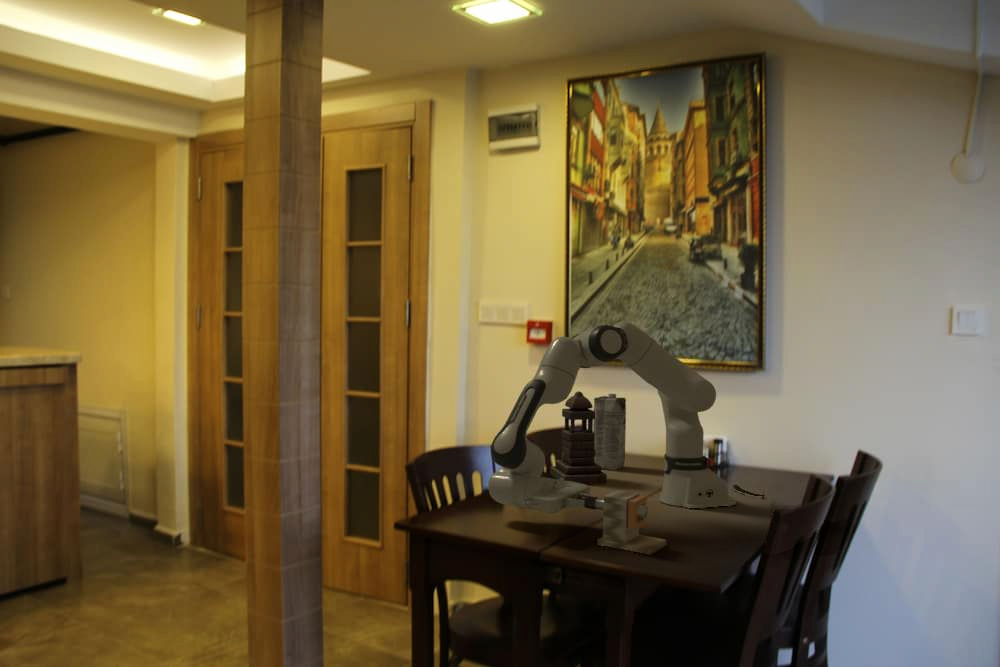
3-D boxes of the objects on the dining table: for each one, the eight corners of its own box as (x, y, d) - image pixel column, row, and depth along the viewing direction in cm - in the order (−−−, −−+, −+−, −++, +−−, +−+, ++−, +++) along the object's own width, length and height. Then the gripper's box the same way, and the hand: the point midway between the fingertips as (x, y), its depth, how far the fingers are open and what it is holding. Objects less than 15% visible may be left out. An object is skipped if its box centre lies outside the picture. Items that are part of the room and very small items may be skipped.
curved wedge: (743, 500, 253) (743, 494, 252) (731, 489, 266) (731, 485, 266) (770, 500, 252) (770, 495, 252) (757, 490, 266) (757, 485, 266)
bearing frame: (597, 545, 202) (598, 496, 202) (615, 535, 210) (616, 488, 210) (649, 555, 194) (651, 504, 194) (666, 545, 202) (667, 496, 202)
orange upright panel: (628, 529, 199) (628, 501, 199) (640, 523, 205) (640, 495, 204) (634, 530, 198) (634, 502, 198) (645, 524, 204) (646, 496, 204)
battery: (616, 471, 290) (618, 396, 288) (590, 468, 295) (591, 393, 294) (627, 467, 297) (628, 393, 296) (601, 464, 303) (602, 391, 302)
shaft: (576, 507, 209) (576, 495, 209) (581, 505, 212) (582, 493, 211) (642, 519, 199) (643, 506, 199) (648, 516, 201) (648, 504, 201)
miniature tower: (607, 483, 270) (608, 393, 269) (564, 485, 267) (565, 394, 266) (590, 473, 286) (592, 388, 285) (549, 475, 283) (551, 389, 282)
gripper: (521, 490, 208) (569, 497, 200) (561, 476, 225) (606, 482, 217) (521, 514, 208) (568, 523, 200) (561, 498, 225) (606, 506, 217)
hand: (589, 502), depth 209 cm, fingers closed on shaft, 3 cm apart
